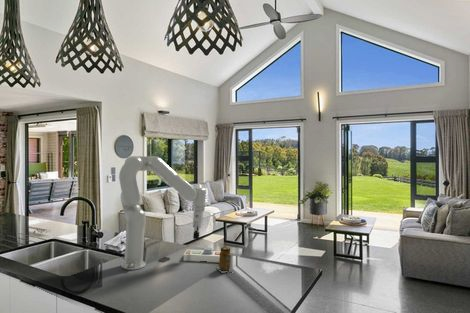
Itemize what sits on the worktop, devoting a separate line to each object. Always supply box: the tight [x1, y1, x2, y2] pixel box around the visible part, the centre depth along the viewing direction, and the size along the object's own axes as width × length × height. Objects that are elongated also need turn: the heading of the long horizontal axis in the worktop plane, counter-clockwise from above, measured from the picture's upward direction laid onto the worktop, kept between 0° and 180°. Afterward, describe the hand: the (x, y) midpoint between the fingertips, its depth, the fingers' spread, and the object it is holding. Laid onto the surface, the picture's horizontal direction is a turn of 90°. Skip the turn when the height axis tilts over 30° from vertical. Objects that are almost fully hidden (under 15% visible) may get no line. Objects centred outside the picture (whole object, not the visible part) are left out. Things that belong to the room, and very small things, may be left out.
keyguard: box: [183, 248, 221, 263], centre depth 179 cm, size 10×25×4 cm, turn 90°
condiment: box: [218, 246, 234, 274], centre depth 162 cm, size 7×8×12 cm
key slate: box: [203, 246, 213, 255], centre depth 179 cm, size 4×4×4 cm
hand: (196, 238), depth 179 cm, fingers closed
